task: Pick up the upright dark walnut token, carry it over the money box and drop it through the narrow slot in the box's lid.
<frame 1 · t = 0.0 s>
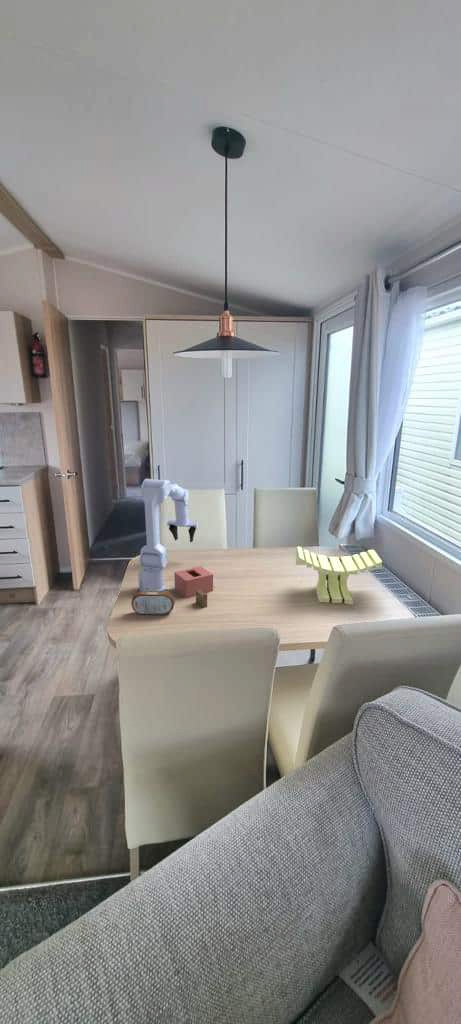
hand: (183, 540, 201), 11 cm above the table, tool pointing down, fingers open, 7 cm apart
tin: (153, 614, 154), on the table
money box: (193, 589, 174), on the table
walnut token: (201, 604, 161), on the table
slatted curved stool: (333, 594, 172), on the table
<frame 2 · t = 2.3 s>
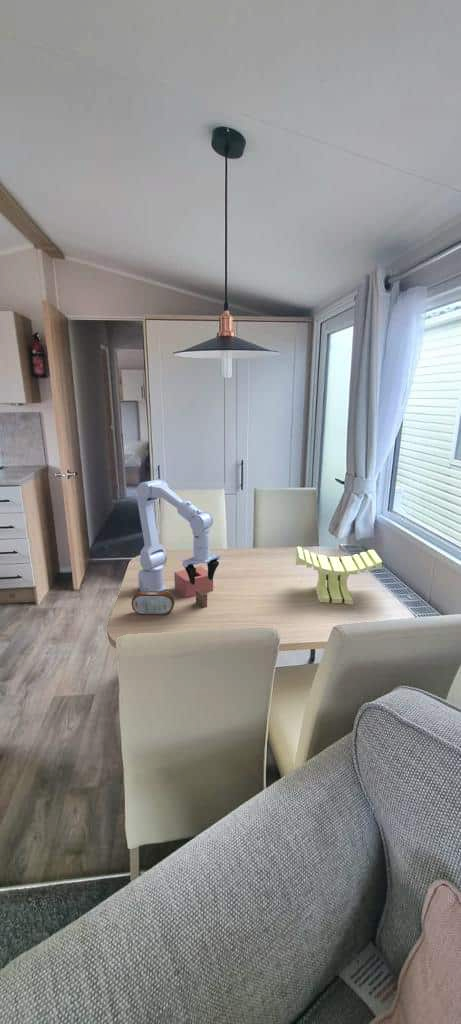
hand: (201, 581, 159), 9 cm above the table, tool pointing down, fingers open, 7 cm apart
nothing on the table moved.
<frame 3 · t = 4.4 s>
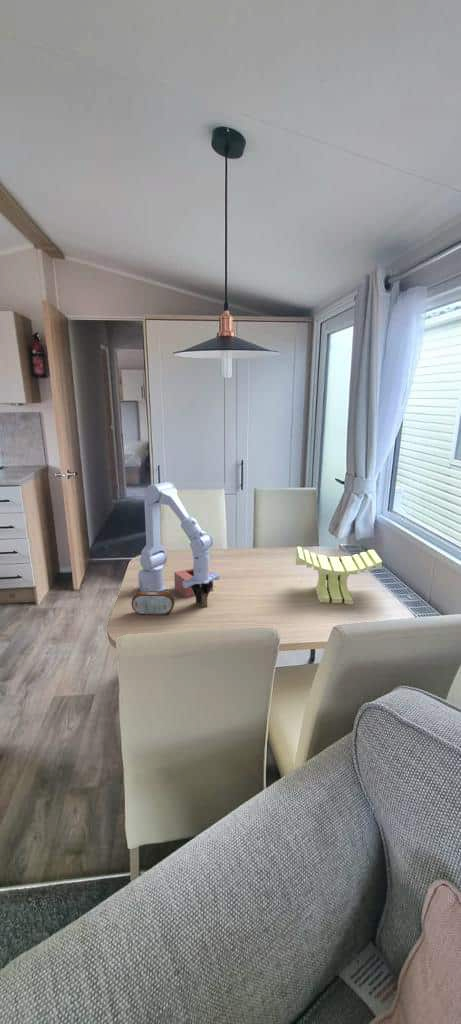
hand: (201, 601, 161), 1 cm above the table, tool pointing down, fingers closed on walnut token, 2 cm apart
walnut token: (201, 604, 161), on the table, touching gripper
everything else where it was.
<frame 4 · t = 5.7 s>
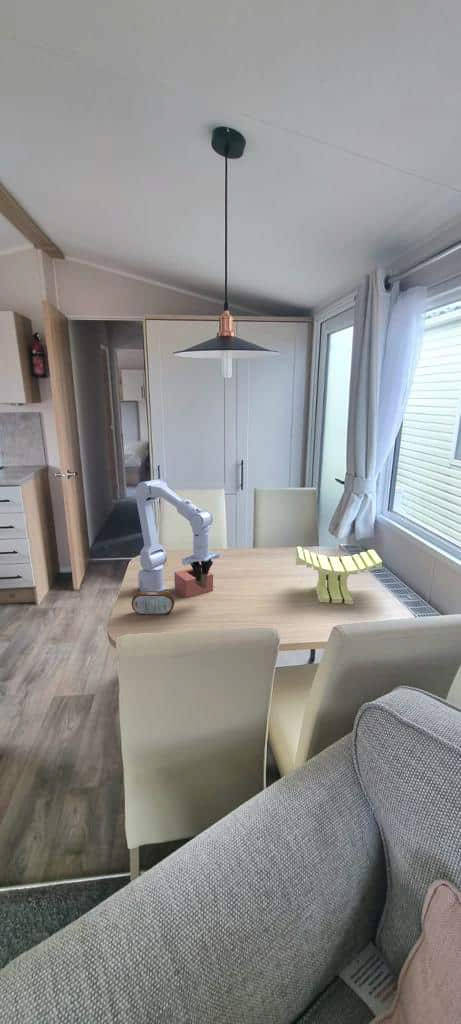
hand: (201, 579, 159), 10 cm above the table, tool pointing down, fingers closed on walnut token
walnut token: (201, 585, 160), point 8 cm above the table, touching gripper
everything else where it was.
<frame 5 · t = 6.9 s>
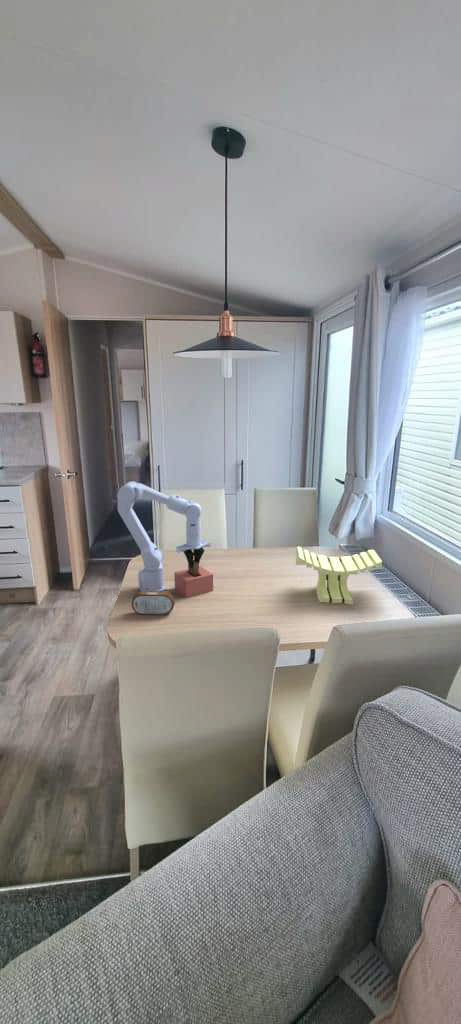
hand: (193, 566, 172), 10 cm above the table, tool pointing down, fingers closed on walnut token
walnut token: (193, 573, 172), point 7 cm above the table, touching gripper
everything else where it was.
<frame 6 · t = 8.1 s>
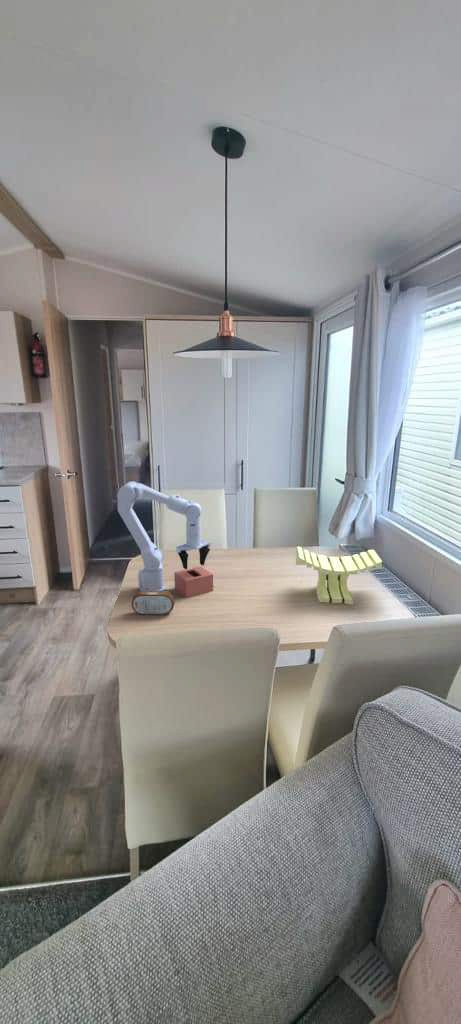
hand: (193, 566, 172), 10 cm above the table, tool pointing down, fingers open, 7 cm apart
walnut token: (193, 589, 174), resting in money box
everything else where it was.
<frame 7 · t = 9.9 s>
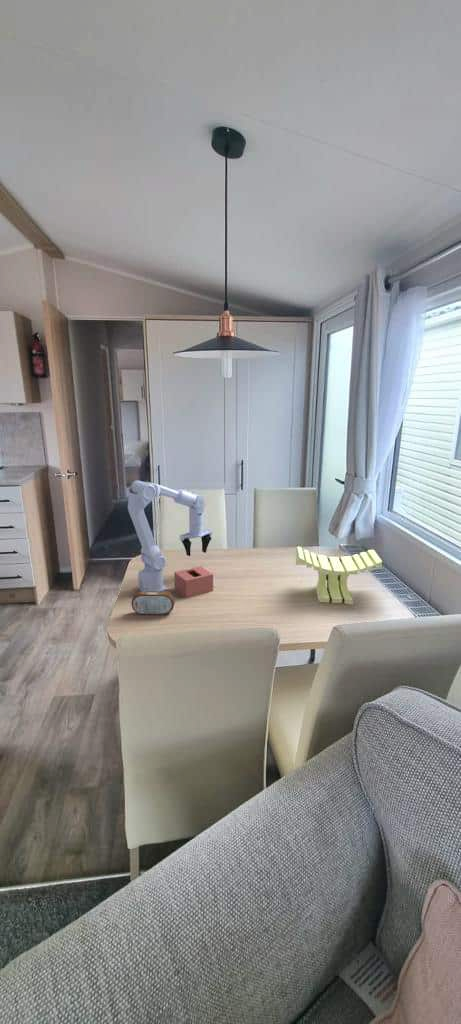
hand: (196, 553, 184), 10 cm above the table, tool pointing down, fingers open, 7 cm apart
nothing on the table moved.
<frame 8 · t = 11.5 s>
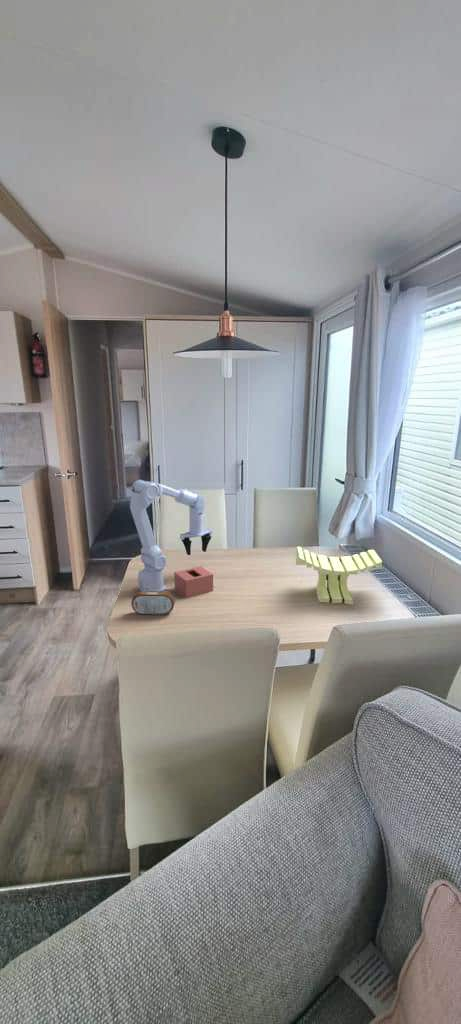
hand: (196, 552, 185), 10 cm above the table, tool pointing down, fingers open, 7 cm apart
nothing on the table moved.
at the end: walnut token inside the target area on the money box (0.1 cm from its centre), point 0.0 cm above the money box's base; the gripper is holding nothing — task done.
